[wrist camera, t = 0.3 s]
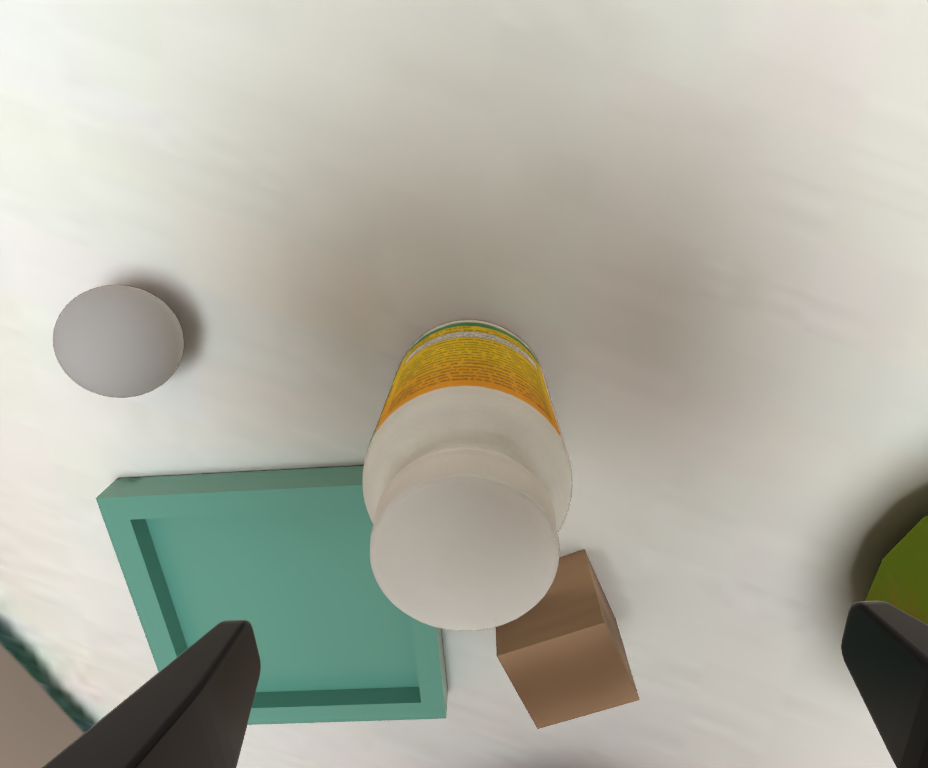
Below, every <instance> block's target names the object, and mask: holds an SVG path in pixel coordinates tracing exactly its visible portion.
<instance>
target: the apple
mask: <svg viewBox="0 0 928 768" xmlns="http://www.w3.org/2000/svg"><path fill="white" fill-rule="evenodd" d="M865 601H884V602H887V603H889V604H891V605H893V606H895V607H896V608H898V609H900V610H902V611H904V612H905V613H907V614H909V615H911V616H913V617H914V618H916V619H918V620H920V621H922V622H924V623H925V624H927V625H928V515H927V516H925V517H923V518H922V519H921V520H920V521H919V522H918V523H917V524H916V525H915V526H914V527H913V528H912V529H911V530H910V531H909V532H908V533H907V534H906V535H905V536H904V537H903V538H902V539H901V540H900V541H899V542H898V544H897V545H896V546H895V547H894V548H893V549H892V550H891V551H890V552H889V553H888V554H887V555H886V556H885V557H884V558H883V559H882V562H881V564H880V566H879V569H878V571H877V573H876V576H875V578H874V580H873V583H872V585H871V587H870V590H869V592H868V594H867V597H866V599H865Z"/></svg>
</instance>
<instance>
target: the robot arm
mask: <svg viewBox="0 0 928 768" xmlns="http://www.w3.org/2000/svg"><path fill="white" fill-rule="evenodd" d="M841 649H842V655H843V658H844V661H845V663H846V665H847V668H848V670H849V672H850V674H851V676H852V678H853V680H854V682H855V684H856V686H857V688H858V690H859V692H860V694H861V696H862V698H863V700H864V702H865V704H866V706H867V709H868V711H869V713H870V715H871V717H872V719H873V721H874V723H875V725H876V727H877V729H878V731H879V733H880V735H881V737H882V739H883V741H884V743H885V745H886V747H887V750H888V752H889V753H890V755H891V757H892V759H893V761H894V763H895V765H896V767H897V768H928V625H927V624H925V623H924V622H922V621H920V620H918V619H916V618H914V617H913V616H911V615H909V614H907V613H905V612H904V611H902V610H900V609H898V608H896V607H895V606H893V605H891V604H889V603H887V602H884V601H857V602H854V603H853V604H852V605H851V606H850V609H849V612H848V617H847V621H846V625H845V630H844V634H843V638H842V644H841ZM260 671H261V661H260V656H259V652H258V648H257V643H256V639H255V635H254V631H253V627H252V625H251V623H250V622H249V621H247V620H226V621H222V622H220V623H219V624H217V625H216V626H215V627H213V628H212V629H211V630H210V631H209V632H207V633H206V634H205V635H204V636H202V637H201V638H200V639H199V640H198V641H196V642H195V643H194V644H193V645H191V646H190V647H189V648H188V649H187V650H185V651H184V652H183V653H182V654H180V655H179V656H178V657H177V658H176V659H174V660H173V661H172V662H171V663H169V664H168V665H167V666H166V667H165V668H163V669H162V670H161V671H160V672H158V673H157V674H156V675H155V676H154V677H152V678H151V679H150V680H149V681H147V682H146V683H145V684H144V685H143V686H141V687H140V688H139V689H138V690H136V691H135V692H134V693H133V694H132V695H130V696H129V697H128V698H127V699H125V700H124V701H123V702H122V703H121V704H119V705H118V706H117V707H116V708H114V709H113V710H112V711H111V712H110V713H108V714H107V715H106V716H105V717H103V718H102V719H101V720H100V721H99V722H97V723H96V724H95V725H94V726H92V727H91V728H90V729H89V730H88V731H86V732H85V733H84V734H83V735H81V736H80V737H79V738H78V739H77V740H75V741H74V742H73V743H72V744H71V745H69V746H68V747H67V748H66V749H64V750H63V751H62V752H61V753H59V754H58V755H57V756H56V757H55V758H53V759H52V760H51V761H50V762H48V763H47V764H46V765H45V766H44V767H42V768H236V766H237V763H238V759H239V755H240V751H241V747H242V743H243V739H244V735H245V732H246V728H247V724H248V720H249V716H250V712H251V708H252V704H253V700H254V697H255V693H256V689H257V685H258V681H259V677H260Z"/></svg>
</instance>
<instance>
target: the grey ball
mask: <svg viewBox="0 0 928 768" xmlns="http://www.w3.org/2000/svg"><path fill="white" fill-rule="evenodd" d="M53 346H54V351H55V355H56V357H57V360H58V362H59V364H60V366H61V367H62V369H63V370H64V371H65V373H66V374H67V375H68V376H69V377H70V378H71V379H72V380H73V381H74V382H76V383H77V384H78V385H80V386H81V387H83V388H85V389H87V390H89V391H91V392H94V393H96V394H99V395H103V396H108V397H117V398H125V397H133V396H138V395H142V394H145V393H148V392H150V391H153V390H154V389H156V388H158V387H159V386H161V385H162V384H163V383H165V382H166V381H167V380H168V379H169V378H170V377H171V376H172V375H173V373H174V372H175V370H176V369H177V367H178V366H179V363H180V361H181V358H182V354H183V349H184V339H183V332H182V329H181V326H180V323H179V321H178V319H177V317H176V316H175V314H174V313H173V311H172V310H171V309H170V308H169V307H168V306H167V305H166V304H165V303H164V302H163V301H162V300H160V299H159V298H158V297H156V296H154V295H153V294H151V293H149V292H147V291H144V290H142V289H139V288H135V287H131V286H124V285H107V286H101V287H97V288H94V289H90V290H88V291H86V292H84V293H82V294H80V295H78V296H77V297H75V298H74V299H73V300H72V301H70V302H69V303H68V304H67V305H66V307H65V308H64V309H63V311H62V312H61V313H60V315H59V317H58V319H57V321H56V324H55V327H54V332H53Z"/></svg>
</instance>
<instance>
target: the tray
mask: <svg viewBox="0 0 928 768" xmlns="http://www.w3.org/2000/svg"><path fill="white" fill-rule="evenodd" d="M363 468H364V466H346V467H327V468H307V469H288V470H268V471H249V472H229V473H210V474H190V475H171V476H152V477H132V478H117V479H116V480H115V481H114V482H113V483H112V484H111V485H110V486H109V487H108V488H107V489H105V490H104V491H103V492H102V493H101V494H100V495H99V496H98V497H97V498H96V500H97V503H98V505H99V508H100V511H101V514H102V516H103V519H104V522H105V525H106V528H107V530H108V533H109V536H110V539H111V541H112V544H113V547H114V550H115V552H116V555H117V558H118V561H119V563H120V566H121V569H122V572H123V575H124V577H125V580H126V583H127V586H128V588H129V591H130V594H131V597H132V599H133V602H134V605H135V608H136V611H137V613H138V616H139V619H140V622H141V624H142V627H143V630H144V633H145V635H146V638H147V641H148V644H149V646H150V649H151V652H152V655H153V658H154V660H155V663H156V666H157V669H158V671H159V672H160V671H161V670H162V669H163V668H165V667H166V666H167V665H168V664H169V663H171V662H172V661H173V660H174V659H176V658H177V657H178V656H179V655H180V654H182V653H183V652H184V651H185V650H187V649H188V648H189V647H190V646H191V645H193V644H194V643H195V642H196V641H198V640H199V639H200V638H201V637H202V636H204V635H205V634H206V633H207V632H209V631H210V630H211V629H212V628H213V627H215V626H216V625H217V624H219V623H220V622H222V621H226V620H247V621H249V622H250V623H251V625H252V627H253V631H254V635H255V639H256V643H257V648H258V652H259V656H260V661H261V671H260V677H259V681H258V685H257V689H256V693H255V697H254V700H253V704H252V708H251V712H250V716H249V720H248V724H247V725H252V724H283V723H314V722H345V721H376V720H407V719H438V718H446V712H447V693H448V689H447V680H446V671H445V662H444V653H443V644H442V635H441V628H437V627H433V626H430V625H427V624H425V623H422V622H420V621H418V620H416V619H414V618H412V617H411V616H409V615H407V614H406V613H404V612H402V611H401V610H400V609H399V608H397V607H396V606H395V605H394V604H393V603H392V602H391V601H390V600H389V599H388V598H387V597H386V595H385V594H384V593H383V592H382V590H381V588H380V587H379V585H378V583H377V581H376V579H375V577H374V574H373V571H372V568H371V562H370V538H371V533H372V529H373V523H372V521H371V518H370V516H369V514H368V511H367V508H366V504H365V501H364V495H363V485H362V482H363Z"/></svg>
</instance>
